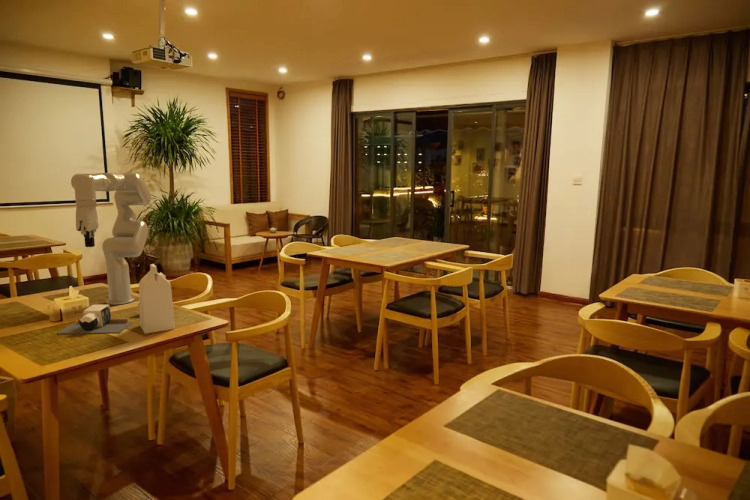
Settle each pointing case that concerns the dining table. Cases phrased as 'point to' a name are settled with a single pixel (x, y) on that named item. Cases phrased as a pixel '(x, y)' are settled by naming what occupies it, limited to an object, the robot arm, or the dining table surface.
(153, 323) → the milk
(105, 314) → the medicine bottle
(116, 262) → the robot arm
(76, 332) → the tipping mat
